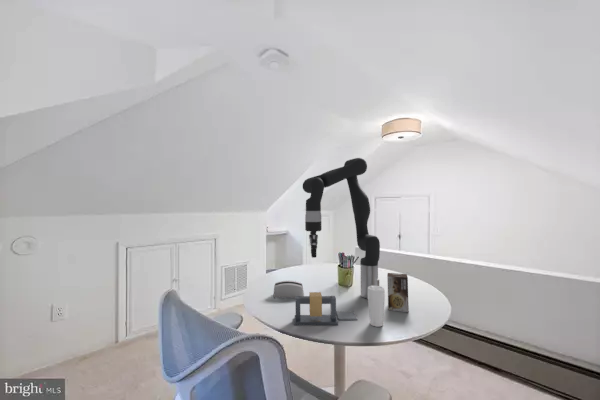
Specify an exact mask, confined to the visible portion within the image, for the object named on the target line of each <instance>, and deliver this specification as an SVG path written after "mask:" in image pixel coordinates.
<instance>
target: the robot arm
mask: <svg viewBox="0 0 600 400" xmlns="http://www.w3.org/2000/svg"><path fill="white" fill-rule="evenodd" d="M367 169H368V164H367V161H366V160H365V159H364V158H362V157H355V158H352V159H348V160H346V161H344V164H343V166H341V167H337V168H334V169H331V170H328V171H326V172H324V173H322V174H318V175H314V176H312V177H309V178H307V179H305V180H304V181H303V182H302V189H303V191H304V192H305V193H307V194H310V196H309V198H307V199H306V200H305V214H304V215H305V217H304V220H305V221H304V223H305V231H306V232H309V233H310V234H309V235H308V239H309V245H310V254H311V258H312V259H314V258H317V250H318V239H319V236H318V234H317V232H321V231H322V205H321V204H322V203H321V202H322V199H323V196H324V191H325V188H329V187H331V186H333V185H336V184H337V183H339V182H342V181H344V180H346V182H347V186H348V190H349V194H350V195H349V196H350V201H351V206H352V213H353V217H354V224H355V230H356V231H355V233H356V242H357V247H358V249H359V250H360V251H364V252H365V255H364V256H363V257H361V258H360V261H359V262H360V265H359V266H360V297H362V298H363V299H367V300H368V287H369V286H380V279H379V261H380V255H381V254H380V251H381V249H380V248H381V242H380V239H379V237H377V236H376V235H373V234H369V230H368V229H369V228H368V221H369V218H370V214H371V206H370V200H369V196H368V195H367V194H366V192H365V191H364V190H363V188H362V187H361V185H360V184H359V179H358V176H361V175H364V174H365V173H366V172H367Z"/></svg>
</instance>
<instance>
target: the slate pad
mask: <svg viewBox="0 0 600 400" xmlns="http://www.w3.org/2000/svg"><path fill="white" fill-rule="evenodd" d="M336 317H337V320H338V321H358V317H357V315H356V314H355V311H354V310H343V311H342V310H340V311H339V310H336Z"/></svg>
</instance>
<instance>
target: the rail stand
mask: <svg viewBox="0 0 600 400" xmlns="http://www.w3.org/2000/svg"><path fill="white" fill-rule="evenodd" d="M309 304H310V296H309V295H308V296H307V295H306V296H305V295H304V296H296V298H295V315H294V320H293V321H294V323H293V325H294V326H338V325H339V320H338V317H337V313H336V311H337V298H336V295H322V305H330V307H329V308H330V309H329V311H330V314H322V316H310V314H301V305H309Z"/></svg>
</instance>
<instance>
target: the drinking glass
mask: <svg viewBox="0 0 600 400" xmlns="http://www.w3.org/2000/svg"><path fill="white" fill-rule="evenodd" d="M385 297H386V295H385V287H382V285H381V286H380V285H379V286H369V287H368V299H367V305H368V314H369V324H370V325H371V326H373V327H376V328H379V327H382V326H383V325H384V311H385V300H386V299H385Z"/></svg>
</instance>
